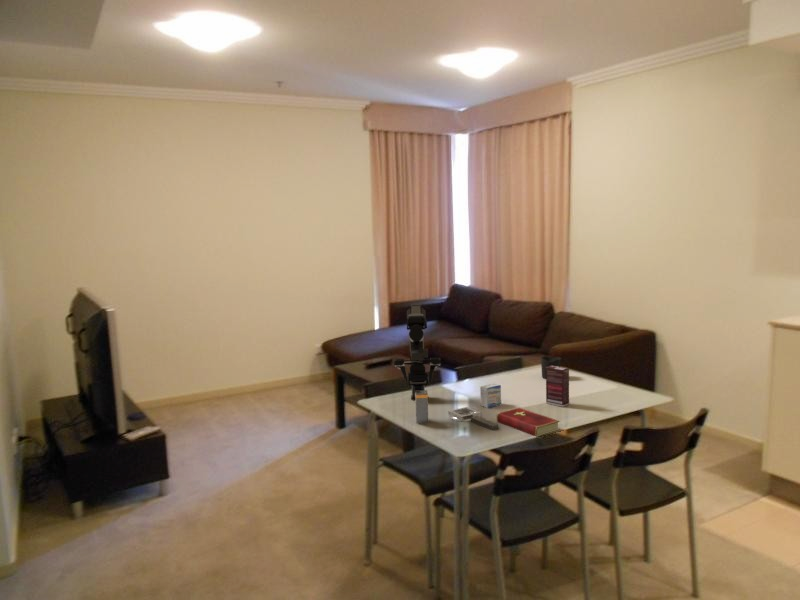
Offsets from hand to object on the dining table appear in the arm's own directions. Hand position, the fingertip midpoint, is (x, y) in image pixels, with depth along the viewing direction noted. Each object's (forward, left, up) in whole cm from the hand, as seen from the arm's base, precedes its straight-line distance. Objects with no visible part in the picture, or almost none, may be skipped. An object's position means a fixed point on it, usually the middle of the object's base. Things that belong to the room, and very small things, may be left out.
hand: (418, 383), depth 244 cm
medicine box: (-13, +30, -14) cm, 36 cm away
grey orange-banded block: (+7, +1, -14) cm, 15 cm away
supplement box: (-13, +58, -14) cm, 61 cm away
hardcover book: (+14, +41, -14) cm, 46 cm away
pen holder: (-57, +64, -14) cm, 87 cm away
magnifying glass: (+7, +22, -13) cm, 27 cm away
